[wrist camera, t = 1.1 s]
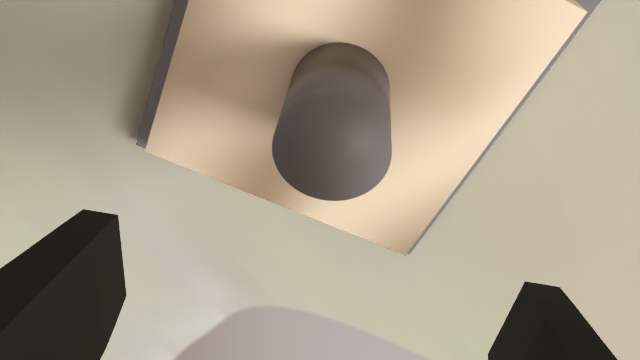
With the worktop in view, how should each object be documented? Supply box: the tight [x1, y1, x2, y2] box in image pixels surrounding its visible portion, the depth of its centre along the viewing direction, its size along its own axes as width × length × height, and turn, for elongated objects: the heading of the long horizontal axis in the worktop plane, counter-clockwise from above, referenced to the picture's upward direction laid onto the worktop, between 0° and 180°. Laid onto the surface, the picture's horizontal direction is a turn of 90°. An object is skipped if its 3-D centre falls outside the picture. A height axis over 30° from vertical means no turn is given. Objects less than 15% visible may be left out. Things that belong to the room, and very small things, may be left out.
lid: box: [145, 0, 587, 255], centre depth 15 cm, size 10×10×4 cm
